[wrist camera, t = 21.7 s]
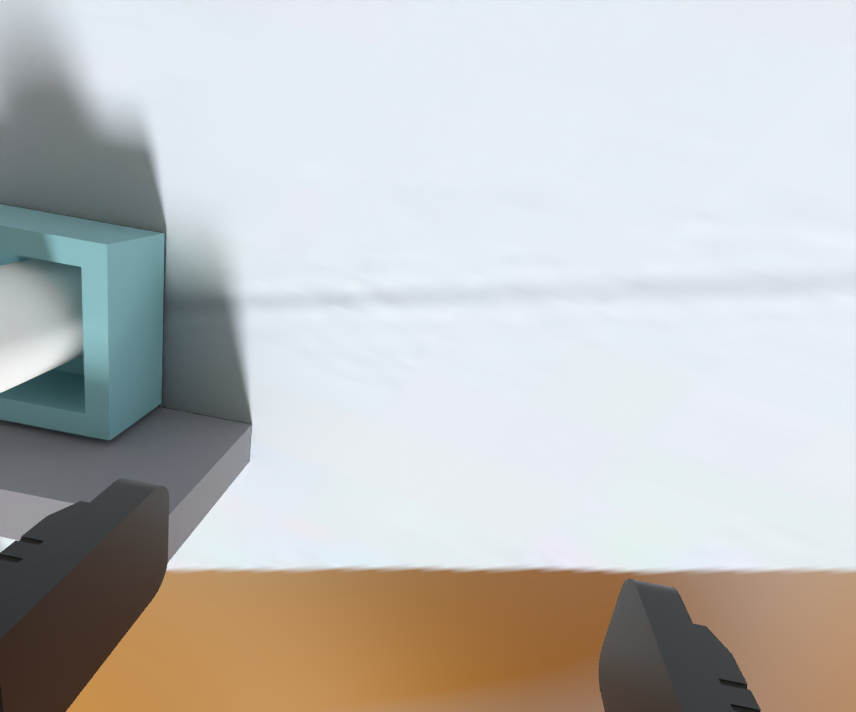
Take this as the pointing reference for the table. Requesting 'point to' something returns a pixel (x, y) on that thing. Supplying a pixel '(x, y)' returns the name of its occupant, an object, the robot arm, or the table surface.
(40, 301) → the can
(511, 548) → the table surface
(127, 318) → the socket block
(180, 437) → the wall board
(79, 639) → the robot arm
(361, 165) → the table surface
